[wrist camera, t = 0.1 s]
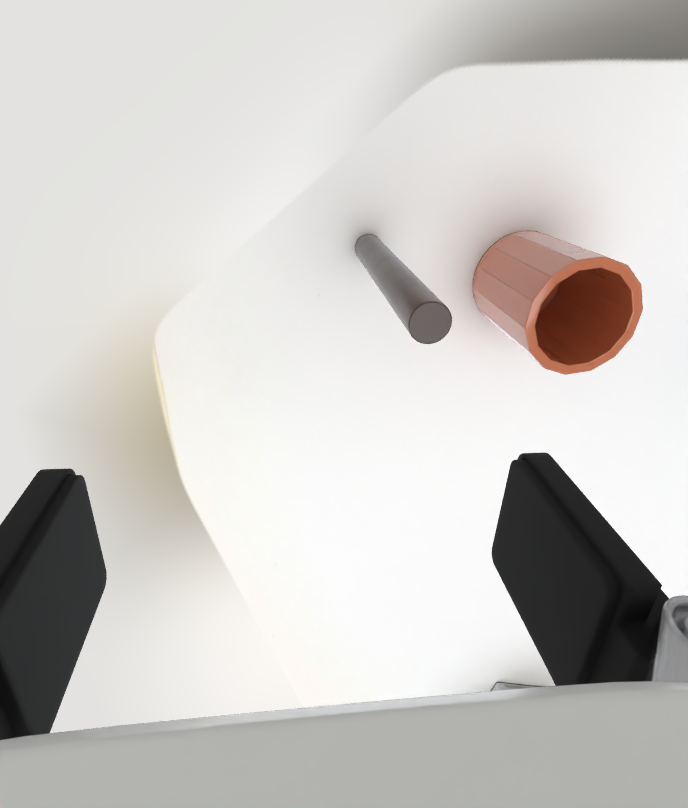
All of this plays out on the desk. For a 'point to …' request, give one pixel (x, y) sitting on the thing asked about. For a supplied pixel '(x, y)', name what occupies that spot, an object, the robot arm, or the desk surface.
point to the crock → (558, 300)
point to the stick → (404, 292)
